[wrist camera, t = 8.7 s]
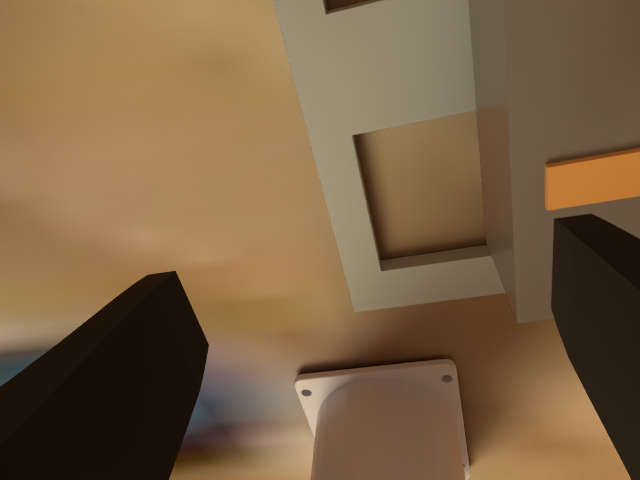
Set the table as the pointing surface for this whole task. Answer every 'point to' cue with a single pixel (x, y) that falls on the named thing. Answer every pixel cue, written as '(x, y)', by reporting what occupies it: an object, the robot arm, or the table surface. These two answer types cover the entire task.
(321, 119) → the keyhole board
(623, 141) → the brown notched block
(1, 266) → the table surface
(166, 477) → the robot arm
